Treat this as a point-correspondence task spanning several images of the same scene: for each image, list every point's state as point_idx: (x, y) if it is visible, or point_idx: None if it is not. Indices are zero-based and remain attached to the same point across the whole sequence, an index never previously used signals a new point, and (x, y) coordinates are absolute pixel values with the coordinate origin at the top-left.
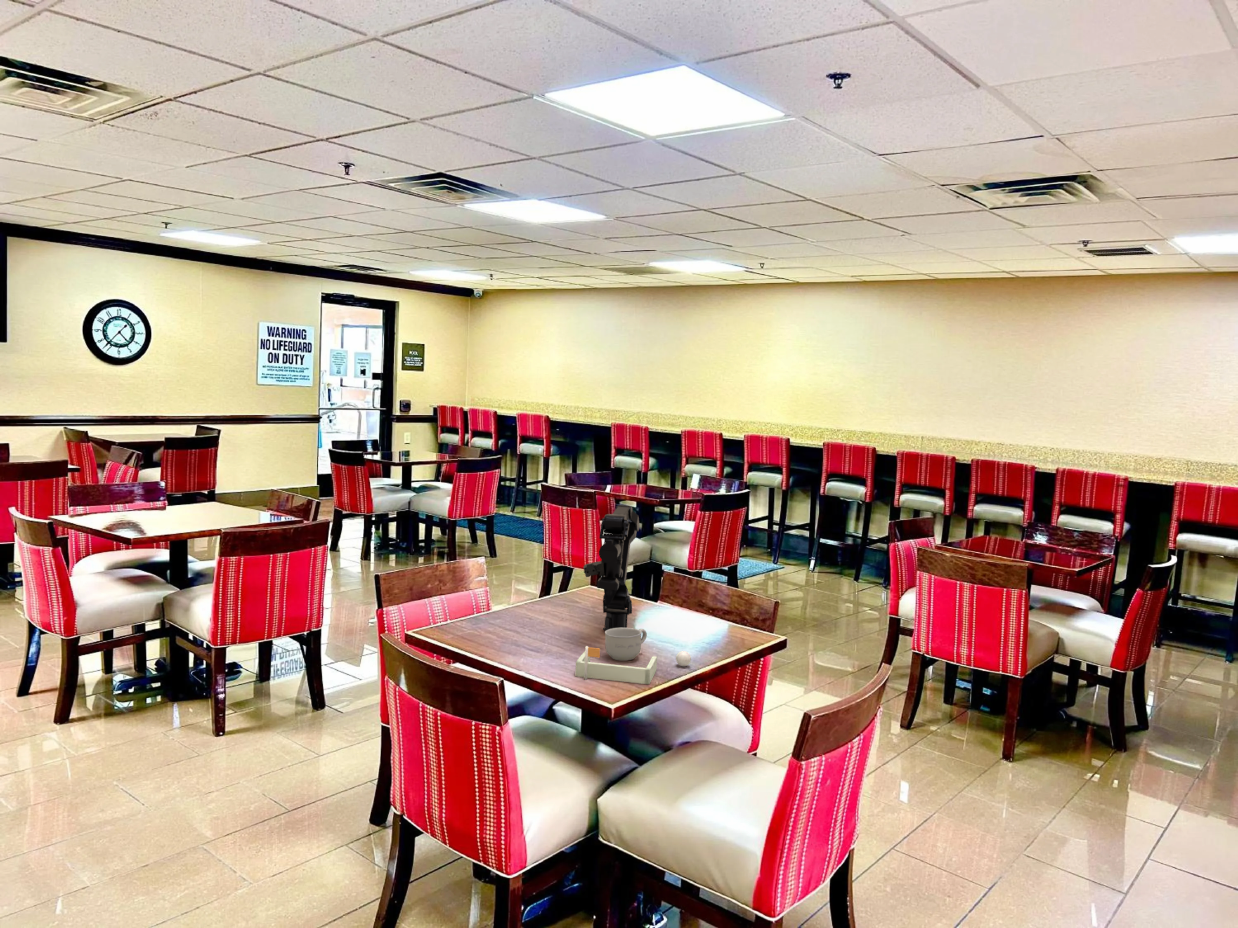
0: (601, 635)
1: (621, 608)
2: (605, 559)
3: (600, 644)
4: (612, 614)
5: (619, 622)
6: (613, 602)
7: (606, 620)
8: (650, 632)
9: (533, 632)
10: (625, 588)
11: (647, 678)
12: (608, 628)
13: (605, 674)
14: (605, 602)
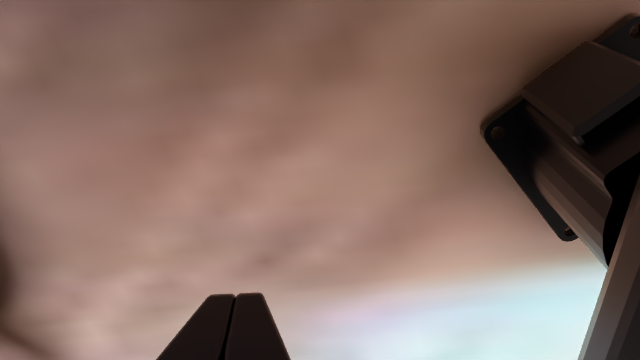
0: (437, 26)
1: (586, 336)
2: None
3: (153, 59)
4: (601, 184)
5: (562, 210)
6: (628, 305)
7: (610, 83)
8: (564, 354)
9: None
10: None
11: None
12: (534, 90)
13: None
14: (188, 320)
